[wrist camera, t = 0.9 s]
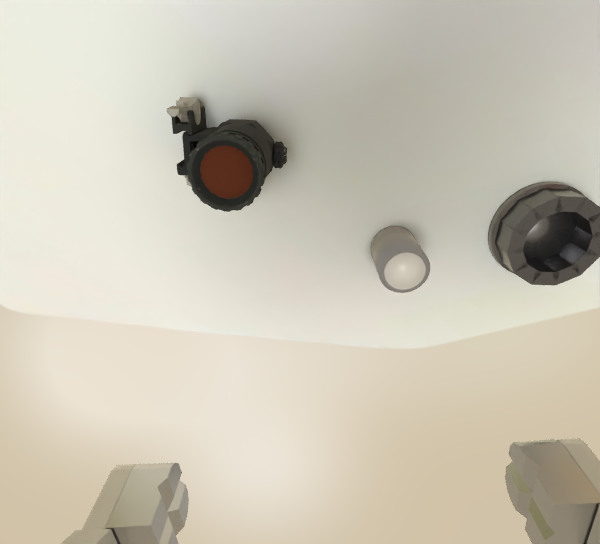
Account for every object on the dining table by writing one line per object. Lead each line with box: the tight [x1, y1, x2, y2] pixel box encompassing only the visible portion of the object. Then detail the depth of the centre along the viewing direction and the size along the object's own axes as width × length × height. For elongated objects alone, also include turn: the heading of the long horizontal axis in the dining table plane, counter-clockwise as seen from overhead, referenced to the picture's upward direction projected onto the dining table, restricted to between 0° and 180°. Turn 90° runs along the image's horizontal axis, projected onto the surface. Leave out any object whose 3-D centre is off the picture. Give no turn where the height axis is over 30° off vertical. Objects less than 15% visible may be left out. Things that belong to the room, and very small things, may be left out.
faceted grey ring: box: [488, 182, 600, 285], centre depth 42 cm, size 10×10×4 cm
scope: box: [167, 97, 287, 212], centre depth 34 cm, size 8×14×10 cm
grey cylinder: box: [371, 226, 430, 293], centre depth 42 cm, size 5×5×6 cm
